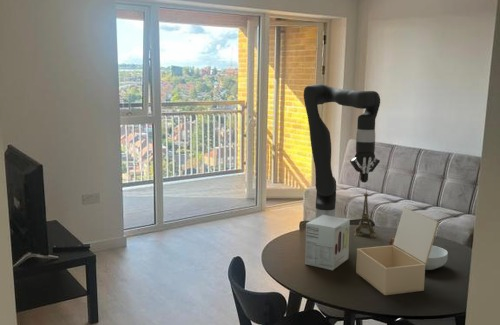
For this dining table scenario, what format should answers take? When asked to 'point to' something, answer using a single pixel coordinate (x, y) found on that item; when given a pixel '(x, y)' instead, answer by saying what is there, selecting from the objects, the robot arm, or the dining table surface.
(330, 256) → the supplement box
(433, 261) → the cereal bowl
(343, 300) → the dining table surface
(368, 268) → the mailer box
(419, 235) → the mailer lid
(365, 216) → the eiffel tower
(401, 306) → the dining table surface
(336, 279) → the dining table surface
